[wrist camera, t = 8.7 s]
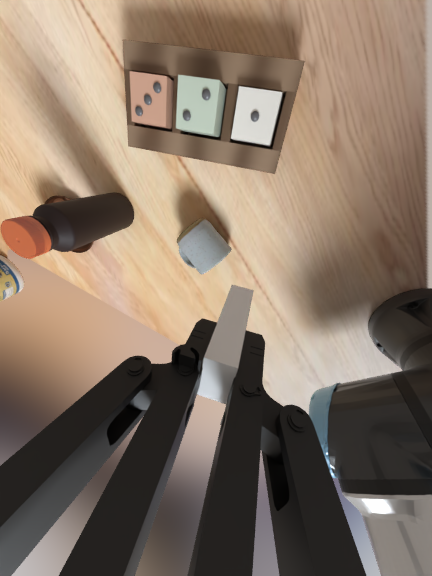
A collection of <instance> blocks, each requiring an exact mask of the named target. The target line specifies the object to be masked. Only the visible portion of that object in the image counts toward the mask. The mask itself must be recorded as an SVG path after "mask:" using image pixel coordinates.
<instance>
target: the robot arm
mask: <svg viewBox="0 0 432 576" xmlns="http://www.w3.org/2000/svg"><path fill="white" fill-rule="evenodd" d="M253 291H254V290H250V289H247V288H243V287H239V286H235V285H232V286H231V289H230V291H229V294H228V296H227V299H226V302H225V304H224V307H223V309H222V312H221V315H220V317H219V320H218V322H217V323H216V322H213V321H210V320H206V319H201V320H200V321H198V322H197V323H196V325H195V327H194V329H193V330H192V332H191V334H190V336H189V338H188V340H187V342H186V344H184V345H180V346H178V347H176V348H175V349H174V350H173V352H172V362H170V363H167V364H151V362H150V360H149V359H148V358H146V357H143V356H133V357H130V358H128V359H127V360H125V361H124V362H122V363H121V364H120V365H119V366H118V367H117V368H115V369H114V370H113V371H112V372H111V373H109V374H108V375H107V376H106V377H105V378H104V379H103V380H101V381H100V382H99V383H98V384H97V385H95V386H94V387H93V388H92V389H91V390H90V391H88V392H87V393H86V394H85V395H83V396H82V397H81V398H80V399H79V400H78V401H76V402H75V403H74V404H73V405H72V406H71V407H69V408H68V409H67V410H66V411H65V412H63V413H62V414H61V415H60V416H59V417H58V418H56V419H55V420H54V421H53V422H52V423H50V424H49V425H48V426H47V427H46V428H45V429H43V430H42V431H41V432H40V433H39V434H37V435H36V436H35V437H34V438H33V439H32V440H30V441H29V442H28V443H27V444H26V445H25V446H23V447H22V448H21V449H20V450H19V451H17V452H16V453H15V454H14V455H13V456H11V457H10V458H9V459H8V460H7V461H6V462H4V463H3V464H2V465H1V466H0V576H11V575H12V574H13V573H14V572H15V570H16V569H17V568H18V567H19V566H20V564H21V563H22V562H23V561H24V559H25V558H26V557H27V556H28V555H29V553H30V552H31V551H32V550H33V549H34V548H35V546H36V545H37V544H38V542H39V541H40V540H41V539H42V538H43V536H44V535H45V534H46V533H47V532H48V531H49V529H50V528H51V527H52V526H53V525H54V523H55V522H56V521H57V520H58V519H59V517H60V516H61V515H62V514H63V512H64V511H65V510H66V509H67V507H68V506H69V505H70V504H71V503H72V501H73V500H74V499H75V498H76V496H78V494H79V493H80V492H81V491H82V490H83V488H84V487H85V486H86V485H87V483H88V482H89V481H90V480H91V479H92V477H93V476H94V475H95V474H96V473H97V471H98V470H99V469H100V468H101V467H102V465H103V464H104V463H105V462H106V461H107V459H108V458H109V457H110V456H111V455H112V453H113V452H114V451H115V450H116V449H117V447H118V446H119V445H120V444H121V442H122V441H123V440H124V439H125V438H126V436H127V435H128V434H129V433H130V431H131V430H132V429H133V428H134V427H135V425H136V424H137V423H138V422H139V421H140V420H141V418H142V417H143V416H144V417H143V419H142V420H141V422H140V424H139V426H138V428H137V430H136V432H135V434H134V435H133V437H132V439H131V441H130V443H129V445H128V447H127V449H126V451H125V453H124V454H123V456H122V458H121V460H120V462H119V464H118V465H117V467H116V469H115V471H114V473H113V475H112V477H111V479H110V480H109V482H108V484H107V486H106V488H105V490H104V492H103V494H102V496H101V497H100V499H99V501H98V503H97V505H96V507H95V509H94V510H93V512H92V514H91V516H90V518H89V520H88V522H87V524H86V525H85V527H84V529H83V531H82V533H81V535H80V537H79V539H78V541H77V542H76V544H75V546H74V548H73V550H72V552H71V554H70V556H69V557H68V559H67V561H66V563H65V565H64V567H63V569H62V571H61V572H60V575H59V576H135V573H136V570H137V567H138V564H139V562H140V559H141V556H142V553H143V550H144V547H145V544H146V541H147V539H148V536H149V533H150V530H151V527H152V524H153V521H154V518H155V515H156V513H157V510H158V507H159V504H160V501H161V498H162V496H163V492H164V490H165V487H166V484H167V481H168V478H169V475H170V473H171V470H172V467H173V464H174V461H175V458H176V455H177V452H178V450H179V447H180V444H181V441H182V438H183V435H184V432H185V429H186V427H187V424H188V421H189V418H190V415H191V412H192V409H193V406H194V401H195V398H196V395H197V394H198V395H200V396H203V397H206V398H209V399H212V400H215V401H218V402H221V403H224V404H226V408H225V412H224V415H223V418H222V421H221V428H220V432H219V437H218V441H217V446H216V450H215V455H214V460H213V464H212V468H211V473H210V477H209V482H208V486H207V491H206V495H205V499H204V504H203V509H202V514H201V518H200V522H199V527H198V531H197V535H196V540H195V545H194V549H193V554H192V558H191V562H190V567H189V572H188V576H252V568H253V552H254V538H255V522H256V508H257V493H258V478H259V477H258V476H259V462H260V450H262V456H263V463H264V470H265V477H266V484H267V491H268V498H269V505H270V511H271V519H272V525H273V532H274V539H275V547H276V554H277V560H278V568H279V574H280V576H366V573H365V571H364V568H363V565H362V562H361V559H360V556H359V553H358V550H357V547H356V545H355V542H354V539H353V536H352V533H351V530H350V528H349V525H348V522H347V519H346V516H345V514H344V510H343V508H342V504H341V502H340V499H339V496H338V493H337V490H336V487H335V485H334V481H333V479H332V477H333V478H338V480H339V483H340V487H341V490H342V493H343V496H345V497H346V498H347V499H348V500H349V501H350V502H351V503H352V504H353V505H354V506H355V507H356V508H357V509H358V510H359V511H360V513H361V514H362V517H363V521H364V523H365V526H366V530H367V533H368V536H369V539H370V542H371V545H372V548H373V552H374V555H375V558H376V561H377V564H378V567H379V570H380V574H381V576H432V289H418V290H412V291H408V292H405V293H402V294H399V295H397V296H395V297H393V298H391V299H389V300H387V301H386V302H384V303H383V304H382V305H381V306H379V307H378V308H377V309H376V311H375V312H374V313H373V315H372V316H371V318H370V321H369V326H368V330H369V334H370V337H371V339H372V340H373V342H374V344H375V346H376V347H377V348H378V349H379V350H380V351H381V352H382V353H383V354H384V355H385V356H387V357H388V358H389V359H390V360H391V361H393V362H394V363H395V364H396V365H398V366H399V367H400V368H401V369H402V370H403V371H401V372H396V373H391V374H387V375H382V376H377V377H372V378H367V379H362V380H357V381H352V382H347V383H343V384H341V383H336V384H334V385H333V386H330V387H326V388H322V389H319V390H317V391H316V392H315V393H314V394H313V395H312V397H311V401H310V405H309V415H308V414H307V413H306V412H305V411H304V410H303V409H301V408H300V407H298V406H295V405H286V406H284V407H283V406H282V405H280V404H279V403H277V402H276V401H274V400H273V399H272V398H271V397H270V396H269V395H268V394H267V393H266V391H265V390H264V387H263V384H262V377H263V363H264V350H265V341H264V339H263V337H262V335H260V334H256V333H253V332H249V331H246V326H247V321H248V316H249V311H250V306H251V301H252V296H253Z"/></svg>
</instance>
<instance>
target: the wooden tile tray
mask: <svg viewBox="0 0 432 576" xmlns="http://www.w3.org/2000/svg"><path fill="white" fill-rule="evenodd" d="M123 53H124V72H125V91H126V110H127V129H128V146H130V147H135V148H141V149H146V150H151V151H157V152H162V153H167V154H173V155H178V156H183V157H188V158H194V159H199V160H204V161H210V162H215V163H220V164H225V165H231V166H236V167H241V168H247V169H252V170H257V171H263V172H268V173H273V174H275V171H276V167H277V164H278V160H279V156H280V152H281V149H282V145H283V141H284V137H285V134H286V130H287V126H288V122H289V119H290V115H291V111H292V107H293V104H294V100H295V96H296V92H297V89H298V85H299V81H300V77H301V73H302V70H303V66H304V62H305V61H301V60H293V59H284V58H276V57H267V56H259V55H250V54H242V53H233V52H225V51H216V50H207V49H199V48H190V47H182V46H173V45H165V44H156V43H148V42H139V41H131V40H123ZM130 71H133V72H140V73H147V74H154V75H162V76H167V77H169V78H170V79H171V80H172V81H174V97H173V124H172V130H170V129H164V128H158V127H152V126H146V125H142V124H139V123H136V122H132V116H131V93H130ZM178 75H185V76H192V77H200V78H207V79H215V80H220V81H221V82H222V84H223V85H224V87H225V88H226V96H225V104H224V111H223V119H222V126H221V133H220V138H219V137H214V136H208V135H202V134H196V133H190V132H185V131H182V130H180V129H177V128H176V113H177V90H178ZM239 86H241V87H249V88H256V89H263V90H270V91H278V92H282V102H281V106H280V110H279V114H278V118H277V123H276V127H275V131H274V135H273V139H272V143H271V147H268V146H262V145H256V144H251V143H245V142H239V141H235V140H233V139H231V135H232V129H233V122H234V116H235V110H236V103H237V97H238V91H239Z"/></svg>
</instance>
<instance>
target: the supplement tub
mask: <svg viewBox="0 0 432 576" xmlns="http://www.w3.org/2000/svg"><path fill="white" fill-rule="evenodd" d="M23 287H24V280H23V277H22V275H21V273H20V271H19V270H18V268H17V267H16V266H15V265H14V264H13V263H12V262H11V261H9V260H8V259H7V258H5V257H3V256H1V255H0V301H2V300H4V299H6V298H8V297H10V296H12V295H14V294H16V293H19V292H20V291H21V290H22V289H23Z"/></svg>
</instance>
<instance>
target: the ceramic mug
mask: <svg viewBox="0 0 432 576" xmlns="http://www.w3.org/2000/svg"><path fill="white" fill-rule="evenodd" d="M177 243H178V245H179V253H180V256H181V258H182V259H183V260H184V262H185V263H186V264H187V265H189V266H190V267H192V268H196V269H197V271H198V272H199V273H200V274H204V273H206V272H208V271H209V270H210V269H212V268H213V267H214V266H216V265H217V264H218V263H219V262H221V261H222V260H223V259H224V258H225V257H226V256H227V255H228V254H229V253H230V251H231V247H230V246H229V245H228V244H227V243H226V241H225V240H224V239H223V238H222V237H221V235H220V234H219V233H218V232H217V231H216V229H215V228H214V227H213V226H212V224H211V223H210V222H209V221H207V220H206V219H205V218H201V219H199V220H197V221H196V222H195V223H193V224H192V225H191V226H190V227H188V228H187V229H186V230H185V231H184V232H183V233H182V234H181V235H180V236H179V237H178V239H177Z"/></svg>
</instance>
